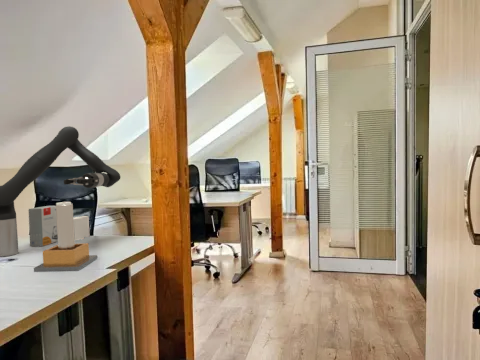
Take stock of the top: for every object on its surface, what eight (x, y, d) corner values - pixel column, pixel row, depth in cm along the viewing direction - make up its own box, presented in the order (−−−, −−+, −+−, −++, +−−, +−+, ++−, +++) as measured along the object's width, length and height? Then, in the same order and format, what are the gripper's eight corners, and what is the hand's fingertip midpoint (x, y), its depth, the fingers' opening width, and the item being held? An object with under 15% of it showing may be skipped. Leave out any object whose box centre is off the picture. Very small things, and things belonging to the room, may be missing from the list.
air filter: (69, 263, 151) (65, 203, 150) (55, 262, 153) (51, 203, 151) (79, 259, 158) (75, 201, 156) (65, 258, 159) (62, 201, 158)
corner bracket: (75, 240, 205) (73, 219, 204) (64, 238, 212) (63, 217, 211) (92, 237, 213) (91, 216, 213) (82, 235, 220) (81, 215, 219)
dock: (34, 271, 146) (32, 253, 146) (57, 259, 164) (56, 242, 164) (78, 270, 146) (77, 251, 145) (97, 258, 164) (96, 241, 163)
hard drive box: (42, 246, 192) (40, 208, 190) (29, 246, 193) (27, 209, 192) (61, 240, 207) (59, 205, 206) (49, 240, 208) (47, 205, 207)
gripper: (80, 173, 192) (58, 174, 176) (105, 172, 188) (85, 173, 173) (81, 187, 192) (59, 190, 176) (105, 187, 189) (85, 189, 173)
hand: (72, 182), depth 174 cm, fingers open, 8 cm apart
